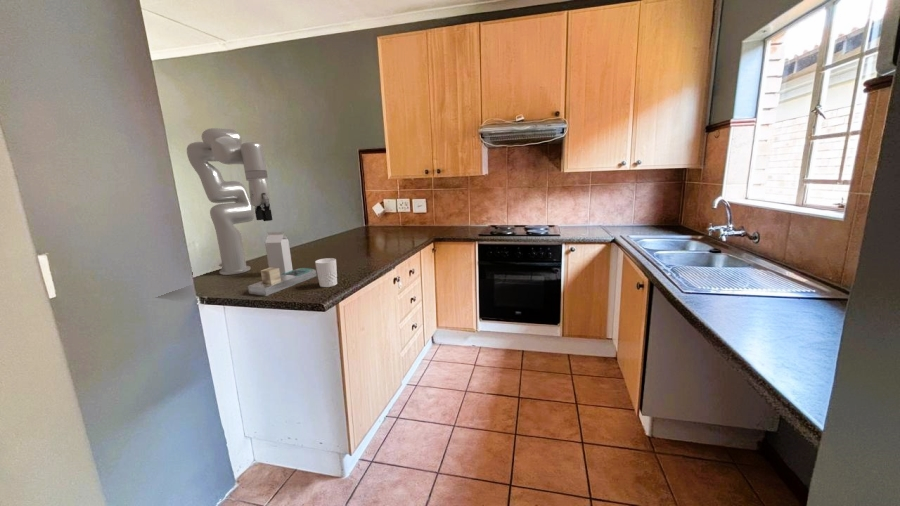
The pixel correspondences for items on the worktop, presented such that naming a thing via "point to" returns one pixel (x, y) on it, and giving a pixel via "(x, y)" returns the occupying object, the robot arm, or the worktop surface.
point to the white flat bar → (283, 281)
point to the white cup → (326, 272)
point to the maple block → (270, 275)
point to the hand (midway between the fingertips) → (264, 220)
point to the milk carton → (278, 252)
